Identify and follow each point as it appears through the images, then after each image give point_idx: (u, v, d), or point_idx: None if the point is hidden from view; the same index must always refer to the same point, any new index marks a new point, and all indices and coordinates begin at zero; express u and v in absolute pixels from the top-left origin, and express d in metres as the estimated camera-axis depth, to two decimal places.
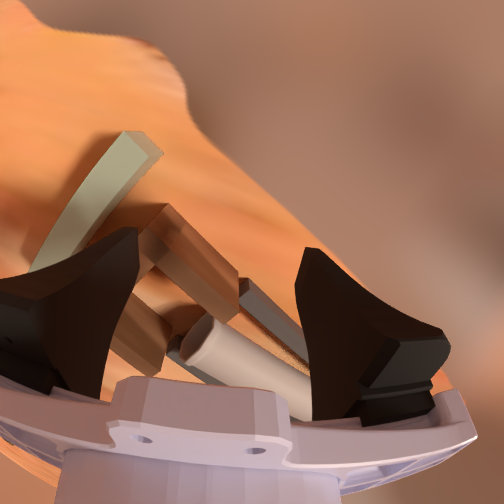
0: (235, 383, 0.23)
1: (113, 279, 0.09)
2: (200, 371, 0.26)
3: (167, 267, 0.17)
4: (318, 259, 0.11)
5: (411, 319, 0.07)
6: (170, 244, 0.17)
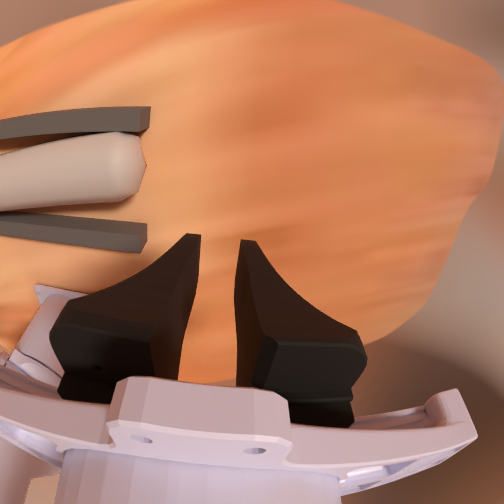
0: None
1: (187, 289, 0.10)
2: None
3: None
4: (245, 251, 0.10)
5: (323, 317, 0.07)
6: None
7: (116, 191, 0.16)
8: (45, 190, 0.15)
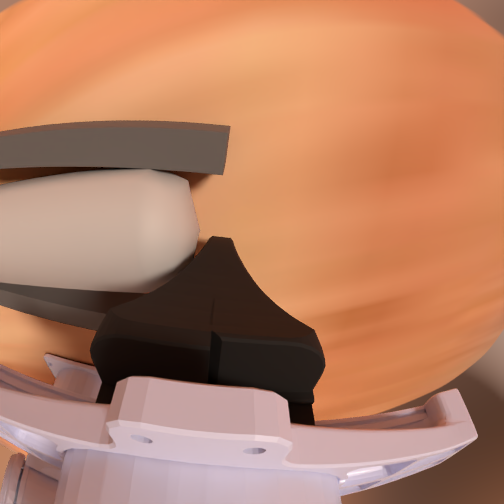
0: None
1: None
2: None
3: None
4: (217, 248, 0.10)
5: (282, 315, 0.06)
6: None
7: (156, 286, 0.09)
8: (27, 273, 0.08)
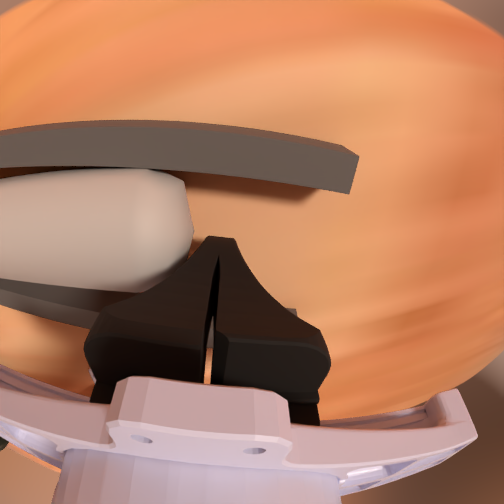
0: None
1: (213, 292, 0.10)
2: None
3: None
4: (221, 248, 0.10)
5: (288, 315, 0.06)
6: None
7: (149, 286, 0.09)
8: (22, 269, 0.08)
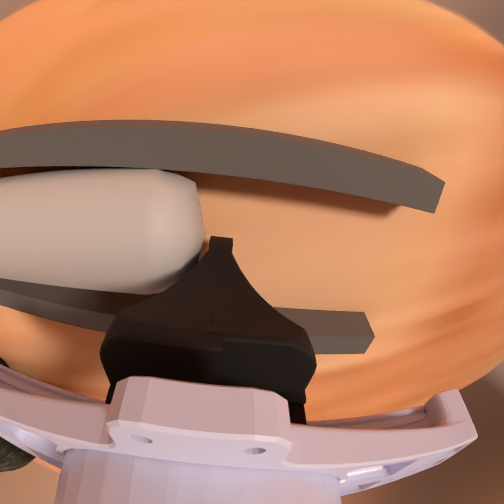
0: None
1: None
2: (17, 300, 0.13)
3: None
4: (211, 247, 0.10)
5: (274, 314, 0.06)
6: None
7: (160, 288, 0.09)
8: (28, 269, 0.08)
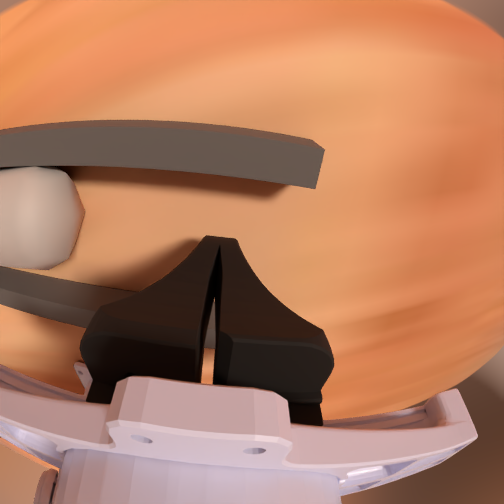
0: None
1: (210, 292, 0.10)
2: None
3: None
4: (223, 248, 0.10)
5: (291, 315, 0.06)
6: None
7: (34, 263, 0.09)
8: None
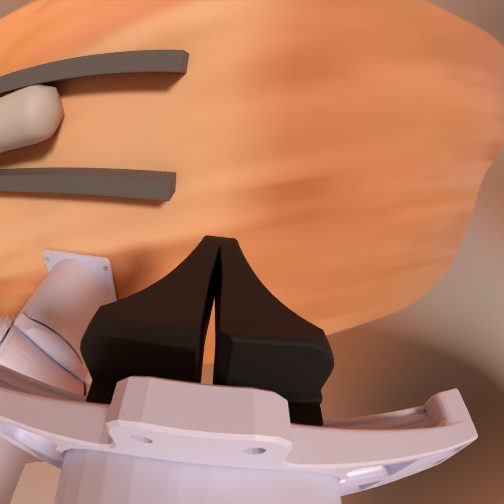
0: None
1: (210, 292, 0.10)
2: None
3: None
4: (223, 248, 0.10)
5: (291, 315, 0.06)
6: None
7: (29, 131, 0.14)
8: None
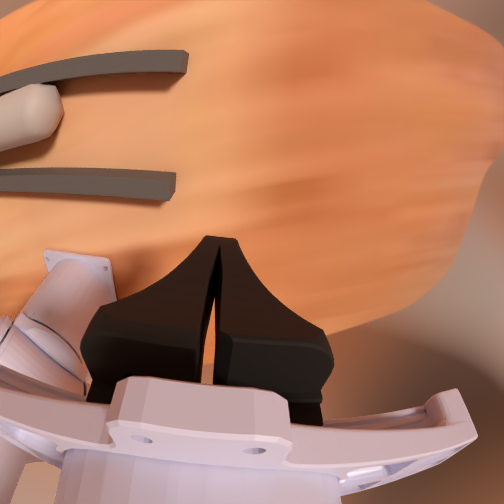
0: None
1: (210, 292, 0.10)
2: None
3: None
4: (223, 248, 0.10)
5: (291, 315, 0.06)
6: None
7: (29, 130, 0.14)
8: None
